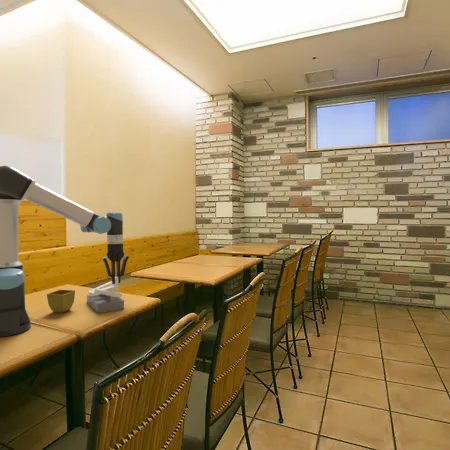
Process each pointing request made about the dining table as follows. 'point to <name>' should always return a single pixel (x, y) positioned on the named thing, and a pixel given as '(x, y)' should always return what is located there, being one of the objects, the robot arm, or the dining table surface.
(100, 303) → the switch panel
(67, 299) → the flower pot
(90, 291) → the bar
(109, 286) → the bar
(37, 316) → the dining table surface
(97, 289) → the bar
